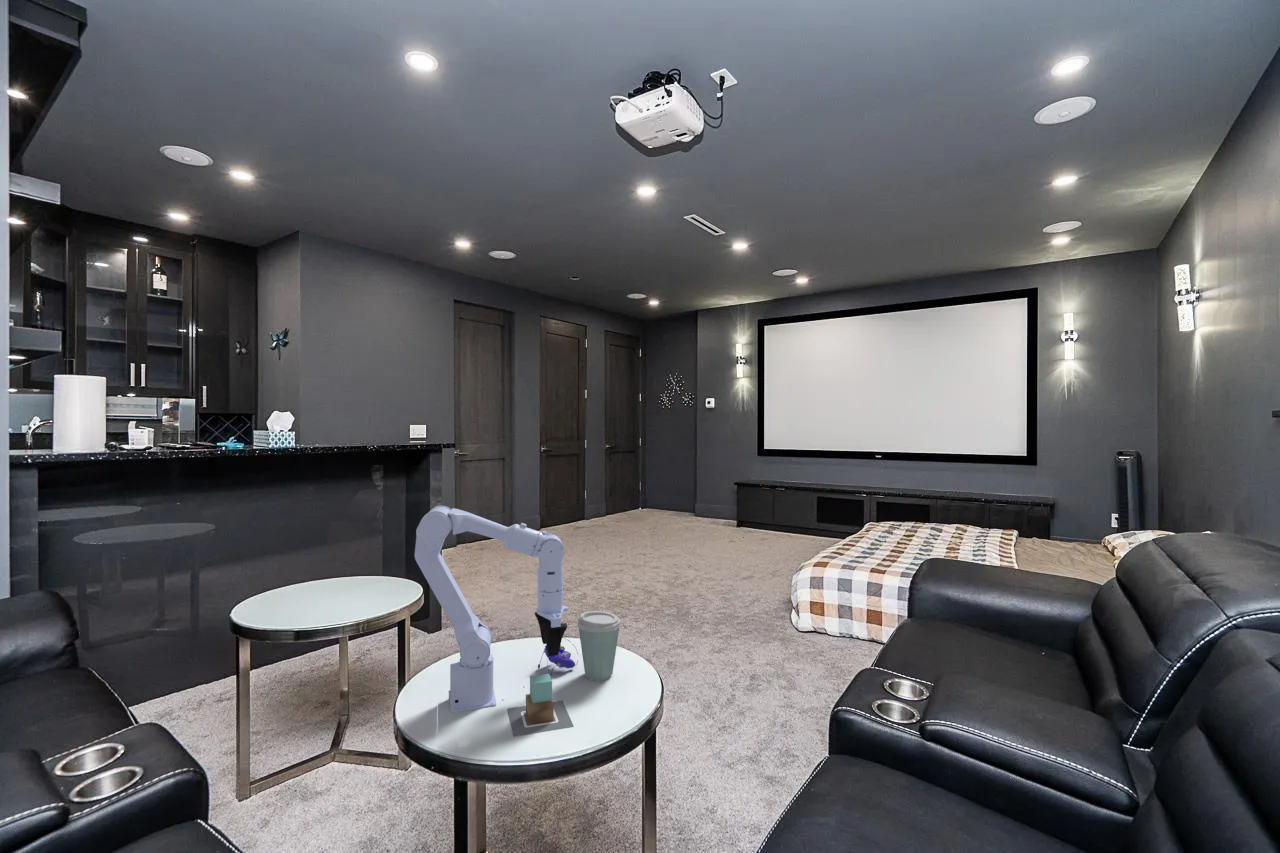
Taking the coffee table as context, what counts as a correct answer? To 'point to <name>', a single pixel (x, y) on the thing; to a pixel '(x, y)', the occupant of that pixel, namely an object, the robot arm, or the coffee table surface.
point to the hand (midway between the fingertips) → (550, 649)
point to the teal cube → (540, 688)
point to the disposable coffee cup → (598, 643)
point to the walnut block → (539, 711)
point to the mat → (523, 727)
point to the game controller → (560, 658)
